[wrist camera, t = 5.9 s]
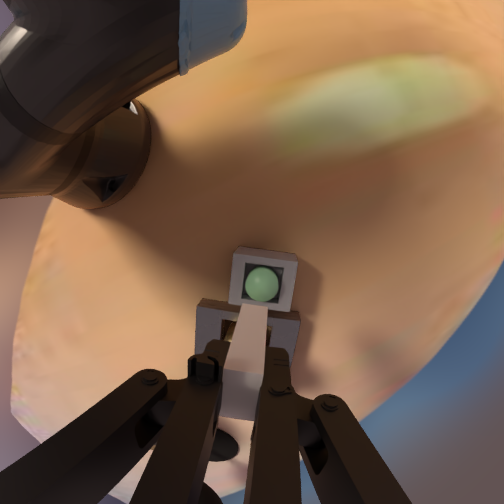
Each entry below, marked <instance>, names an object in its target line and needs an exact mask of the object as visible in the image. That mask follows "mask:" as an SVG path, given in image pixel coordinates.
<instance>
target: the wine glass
mask: <svg viewBox="0 0 504 504" xmlns="http://www.w3.org/2000/svg"><path fill="white" fill-rule="evenodd" d="M237 452H238V445H237V442H236V441H235V440H234V438H233V437H231V436H230V435H229V434H227V433H226V432H224V431H222V430H220V429H217V430H216V434H215V438H214V442H213V446H212V450H211V454H210V458H209V461H215V462H218V461H226V460H229V459H231V458H233V457H234V456H235V455H236V454H237ZM198 504H223V503H222V501H221V499H220V498H219V496H218V495H217V494H216V493H215V491H214V490H213V489H212V488H211V487H209V486H208V485H207V484H206V483H204V482H203V485H202V489H201V493H200V497H199V501H198Z"/></svg>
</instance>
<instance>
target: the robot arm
mask: <svg viewBox="0 0 504 504" xmlns="http://www.w3.org/2000/svg"><path fill="white" fill-rule="evenodd" d="M3 1H4V2H5V4H6V5H7V7H8V8H9V10H10V11H11V13H12V14H13V17H14V21H13V22H12V23H11V24H10V26H9V27H8V28H7V29H6V30H5V31H4V33H3V34H2V35H1V36H0V199H4V198H16V197H30V196H45V195H51V196H53V197H55V198H57V199H59V200H61V201H64V202H66V203H68V204H70V205H72V206H74V207H77V208H82V209H93V208H103V207H106V206H109V205H112V204H114V203H115V202H117V201H119V200H120V199H121V198H123V197H124V196H125V195H126V194H127V193H128V192H129V191H130V190H131V189H132V188H133V186H134V185H135V184H136V182H137V181H138V179H139V177H140V176H141V174H142V172H143V169H144V167H145V165H146V162H147V159H148V155H149V151H150V144H151V129H150V123H149V119H148V116H147V114H146V112H145V110H144V108H143V107H142V106H141V104H140V103H139V102H138V101H137V100H135V98H136V97H138V96H140V95H141V94H143V93H145V92H147V91H148V90H150V89H152V88H154V87H156V86H157V85H159V84H161V83H163V82H165V81H167V80H169V79H171V78H173V77H175V76H177V75H179V74H180V76H183V75H185V74H187V73H188V71H189V69H191V68H193V67H195V66H197V65H199V64H201V63H203V62H205V61H208V60H210V59H212V58H214V57H216V56H218V55H221V54H223V53H225V52H227V51H229V50H231V49H232V48H233V47H235V46H236V45H237V44H238V42H239V41H240V40H241V38H242V36H243V34H244V32H245V28H246V22H247V0H3ZM267 313H268V307H265V306H258V305H251V304H244V303H242V306H241V310H240V313H239V317H238V320H237V324H236V327H235V330H234V334H233V337H232V341H231V342H229V341H223V340H217V339H213V340H211V341H210V342H208V343H207V345H206V347H205V350H204V352H203V353H201V354H195V355H193V356H191V357H190V358H189V359H188V377H187V378H185V379H181V380H167V377H166V376H165V374H164V373H162V372H161V371H158V370H155V369H144V370H141V371H139V372H137V373H136V374H134V375H133V376H132V377H131V378H129V379H128V380H127V381H125V382H124V383H123V384H121V385H120V386H119V387H117V388H116V389H115V390H114V391H112V392H111V393H110V394H108V395H107V396H106V397H104V398H103V399H102V400H100V401H99V402H98V403H96V404H95V405H94V406H92V407H91V408H90V409H88V410H87V411H86V412H84V413H83V414H82V415H80V416H79V417H78V418H76V419H75V420H73V421H72V422H71V423H69V424H68V425H67V426H65V427H64V428H62V429H61V430H60V431H58V432H57V433H56V434H54V435H53V436H51V437H50V438H49V439H47V440H46V441H44V442H43V443H42V444H40V445H39V446H37V447H36V448H35V449H33V450H32V451H30V452H29V453H27V454H26V455H25V456H23V457H22V458H20V459H19V460H18V461H16V462H15V463H13V464H12V465H10V466H8V467H7V468H6V469H4V470H3V471H1V472H0V504H97V503H98V502H99V501H101V500H102V499H103V498H104V496H106V495H107V494H108V493H109V492H110V491H111V490H112V489H113V488H114V487H115V486H116V485H117V484H118V483H119V482H120V481H121V479H122V478H123V477H124V476H125V475H126V474H127V473H128V472H129V471H130V470H131V469H132V468H133V467H134V466H135V465H136V464H137V463H138V462H139V461H140V459H141V458H142V457H143V456H144V455H145V454H146V453H147V452H148V451H149V450H150V449H151V448H152V446H153V445H154V444H155V443H156V442H157V444H156V446H155V448H154V450H153V452H152V455H151V457H150V459H149V461H148V463H147V465H146V468H145V470H144V472H143V474H142V476H141V479H140V481H139V483H138V485H137V487H136V490H135V492H134V494H133V496H132V498H131V501H130V503H129V504H198V501H199V497H200V493H201V489H202V485H203V481H204V477H205V473H206V469H207V465H208V462H209V458H210V454H211V450H212V446H213V442H214V438H215V434H216V430H217V426H218V417H219V416H222V417H228V418H235V419H242V420H249V421H254V426H253V430H252V435H251V448H250V456H249V464H248V473H247V480H246V488H245V496H244V503H243V504H302V502H301V479H300V458H299V451H300V453H301V456H302V458H303V461H304V463H305V466H306V468H307V471H308V473H309V476H310V478H311V481H312V483H313V486H314V488H315V491H316V493H317V495H318V498H319V500H320V502H321V504H412V503H411V501H410V500H409V498H408V497H407V495H406V494H405V492H404V491H403V489H402V488H401V486H400V485H399V483H398V482H397V480H396V479H395V477H394V476H393V474H392V473H391V471H390V470H389V468H388V466H387V465H386V464H385V462H384V460H383V459H382V457H381V456H380V454H379V453H378V451H377V450H376V449H375V447H374V445H373V444H372V443H371V441H370V439H369V438H368V436H367V435H366V433H365V432H364V430H363V429H362V427H361V426H360V424H359V422H358V421H357V419H356V418H355V416H354V415H353V413H352V412H351V410H350V409H349V407H348V406H347V404H346V403H345V402H344V401H343V400H342V399H341V398H340V397H338V396H335V395H331V394H323V395H319V396H318V397H316V398H315V399H314V400H311V399H307V398H304V397H302V396H300V395H298V394H297V393H296V392H295V390H294V388H293V387H292V386H291V376H290V363H289V354H288V352H287V351H286V350H285V349H284V348H278V347H270V346H266V330H267Z"/></svg>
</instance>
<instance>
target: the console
mask: <svg viewBox="0 0 504 504" xmlns="http://www.w3.org/2000/svg"><path fill="white" fill-rule="evenodd" d="M259 265H266V266H269V267H271V268H272V269H274V270H275V272H276V273H277V276H278V291H277V293H276V295H275V296H274V297H273V298H272V299H270V300H268V301H264V302H260V301H256V300H254V299H252V298H251V297H250V296H249V295H248V293H247V291H246V287H245V284H246V280H247V277H248V274H249V272H250V271H251V270H252V269H253V268H254V267H256V266H259ZM297 266H298V260H297V258H296V255H295V254H293V253H285V252H278V251H271V250H263V249H256V248H248V247H241V246H239V247H238V248H237V249H236V251H235V252H234V253H233V261H232V271H231V280H230V290H229V300H228V304H234V305H241V306H242V303H244V304H251V305H258V306H265V307H268V309H269V310H277V311H285V312H290V307H291V302H292V296H293V290H294V284H295V279H296V272H297Z"/></svg>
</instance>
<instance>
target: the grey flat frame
mask: <svg viewBox="0 0 504 504" xmlns="http://www.w3.org/2000/svg"><path fill="white" fill-rule="evenodd" d="M240 310H241V305H234V304H228V302H223V301H217V300H211V299H205V298H202V300H201V301H200V302H199V304H198V305H197V310H196V331H195V354H201V353H203V352H204V350H205V347H206V345H207V343H208V342H210V341H211V340H213V339H217V340H223V334H224V324H225V320H231V321H237V320H238V317H239V313H240ZM300 322H301V320H300V315H299V312H296V311H290V312H285V311H277V310H269V309H268V313H267V326H271V331H270V337H269V343H268V346H270V347H278V348H284V349H285V350H286V351H287V352H288V354H289V363H290V367H291V363H292V358H293V354H294V350H295V345H296V341H297V336H298V331H299V327H300Z"/></svg>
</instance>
